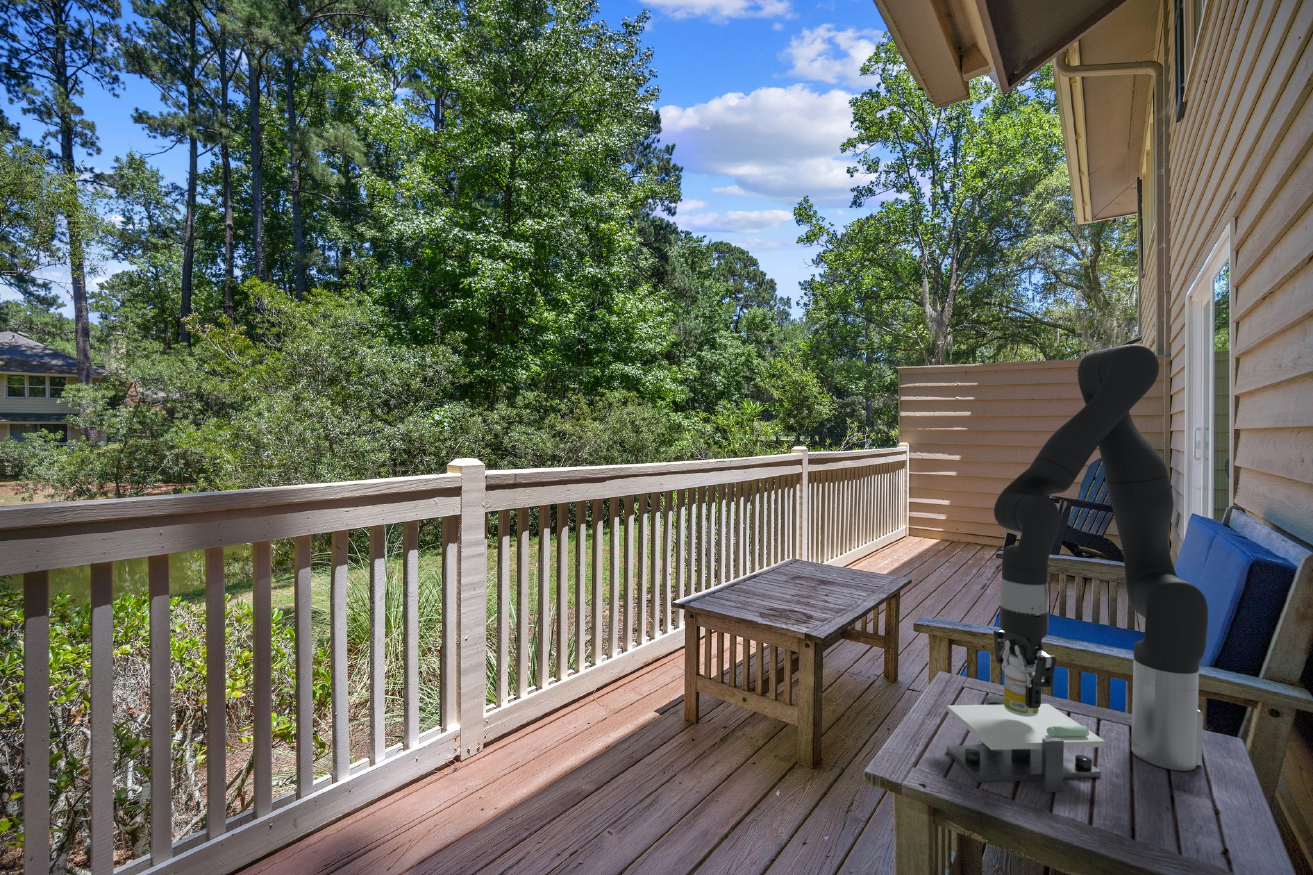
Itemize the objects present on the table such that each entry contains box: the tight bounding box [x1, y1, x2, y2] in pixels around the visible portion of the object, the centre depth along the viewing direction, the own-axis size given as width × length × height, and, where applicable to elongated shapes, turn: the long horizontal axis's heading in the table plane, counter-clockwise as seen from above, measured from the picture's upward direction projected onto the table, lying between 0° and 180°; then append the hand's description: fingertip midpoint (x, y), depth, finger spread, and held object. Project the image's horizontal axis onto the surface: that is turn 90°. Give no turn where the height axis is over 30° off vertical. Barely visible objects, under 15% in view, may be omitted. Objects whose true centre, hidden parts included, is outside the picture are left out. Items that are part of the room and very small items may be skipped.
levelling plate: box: [946, 703, 1106, 750], centre depth 113 cm, size 20×14×3 cm
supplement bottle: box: [1003, 654, 1039, 717], centre depth 113 cm, size 5×5×10 cm
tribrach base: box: [946, 695, 1102, 793], centre depth 113 cm, size 22×17×8 cm
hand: (1021, 699), depth 113 cm, fingers closed on supplement bottle, 5 cm apart
